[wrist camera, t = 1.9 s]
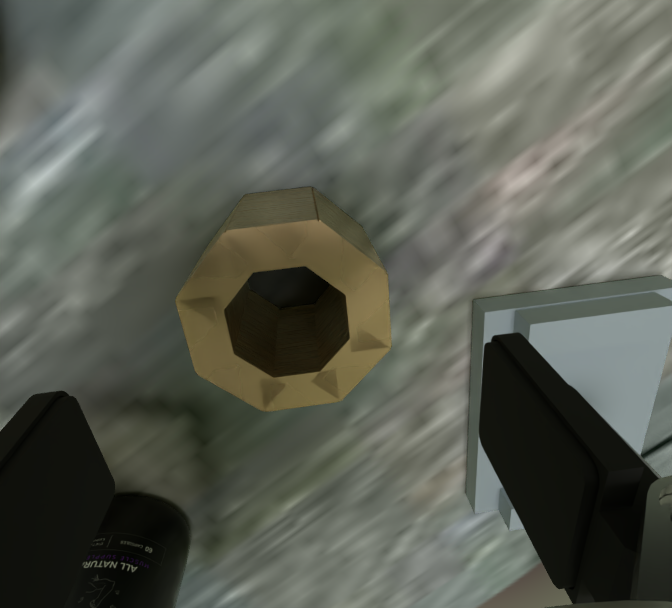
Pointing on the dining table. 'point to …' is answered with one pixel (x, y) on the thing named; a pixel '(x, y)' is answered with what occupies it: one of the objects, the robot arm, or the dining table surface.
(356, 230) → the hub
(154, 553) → the supplement bottle
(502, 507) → the shaft stand
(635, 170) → the dining table surface
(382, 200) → the dining table surface
